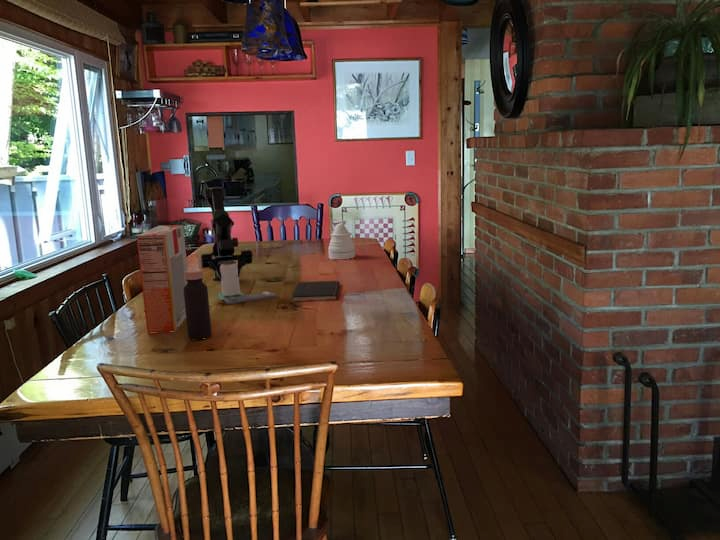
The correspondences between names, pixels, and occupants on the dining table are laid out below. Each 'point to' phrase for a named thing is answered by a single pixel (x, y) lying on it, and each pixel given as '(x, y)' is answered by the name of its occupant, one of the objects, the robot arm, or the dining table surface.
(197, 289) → the bottle
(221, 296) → the pad
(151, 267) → the cereal box
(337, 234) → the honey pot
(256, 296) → the legend board
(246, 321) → the dining table surface
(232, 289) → the can
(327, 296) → the hardcover book
